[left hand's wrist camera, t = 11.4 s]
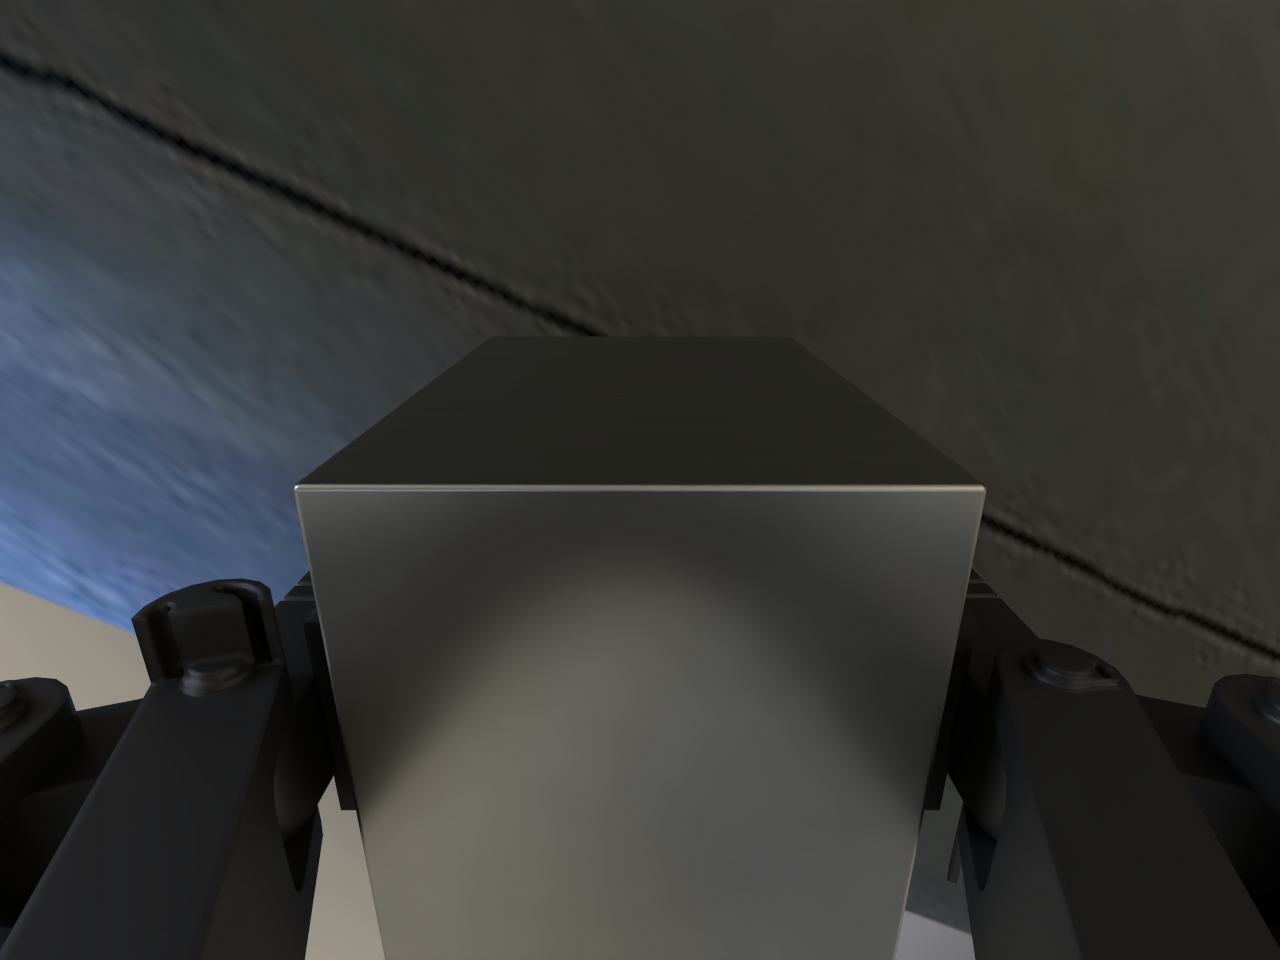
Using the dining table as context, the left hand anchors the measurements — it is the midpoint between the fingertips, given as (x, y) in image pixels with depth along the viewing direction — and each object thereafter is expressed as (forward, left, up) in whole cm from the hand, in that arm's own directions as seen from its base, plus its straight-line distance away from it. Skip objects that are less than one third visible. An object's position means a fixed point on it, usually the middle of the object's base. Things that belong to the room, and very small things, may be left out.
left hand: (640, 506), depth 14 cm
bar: (+10, +3, -1) cm, 10 cm away
